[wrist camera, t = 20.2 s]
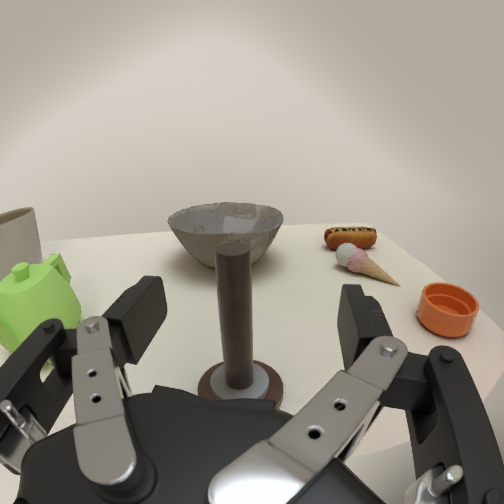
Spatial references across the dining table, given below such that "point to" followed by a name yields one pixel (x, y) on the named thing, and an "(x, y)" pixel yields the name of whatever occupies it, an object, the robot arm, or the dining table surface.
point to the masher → (236, 326)
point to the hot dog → (350, 237)
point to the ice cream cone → (360, 262)
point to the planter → (18, 240)
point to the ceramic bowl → (225, 228)
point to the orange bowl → (447, 309)
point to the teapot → (36, 300)
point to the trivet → (274, 379)
